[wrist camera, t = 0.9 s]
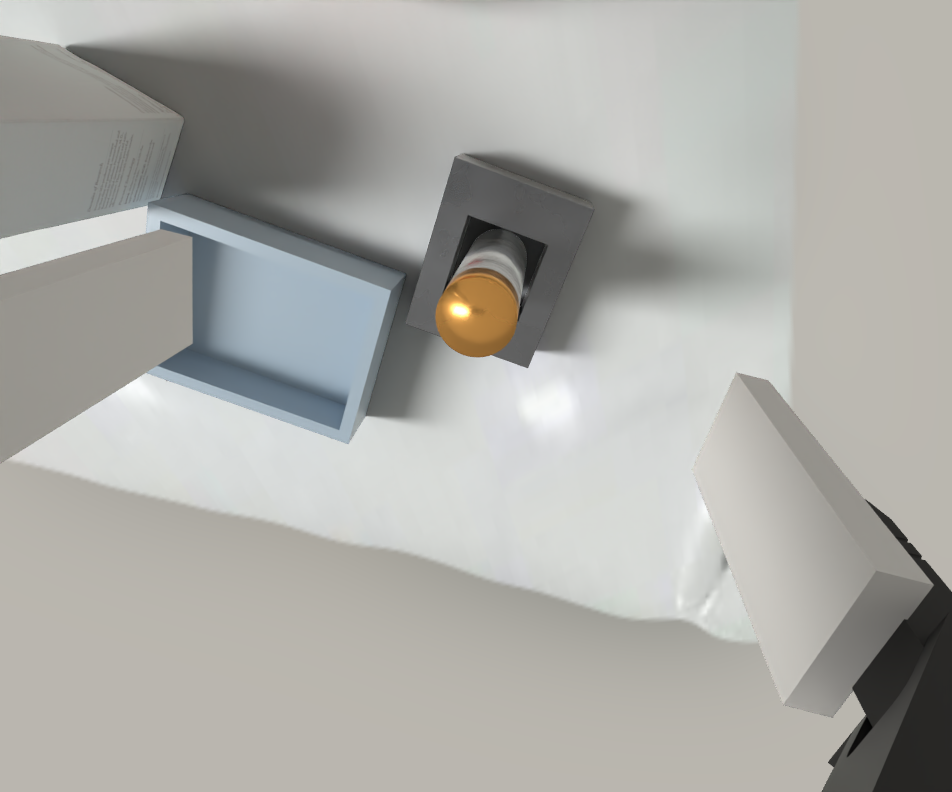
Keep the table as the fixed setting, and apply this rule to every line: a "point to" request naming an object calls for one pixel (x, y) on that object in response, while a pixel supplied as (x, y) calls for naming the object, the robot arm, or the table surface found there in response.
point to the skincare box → (75, 139)
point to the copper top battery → (484, 295)
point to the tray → (279, 318)
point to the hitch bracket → (513, 209)
